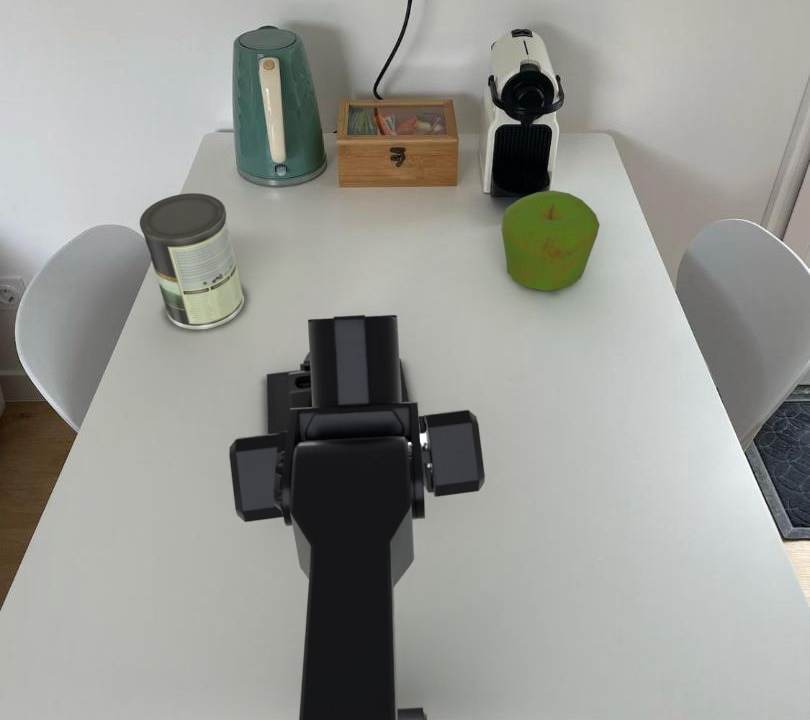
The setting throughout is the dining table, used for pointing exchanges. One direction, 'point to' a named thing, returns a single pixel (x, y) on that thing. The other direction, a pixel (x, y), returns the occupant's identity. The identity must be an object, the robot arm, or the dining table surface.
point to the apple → (548, 239)
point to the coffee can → (193, 260)
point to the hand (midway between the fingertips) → (356, 456)
